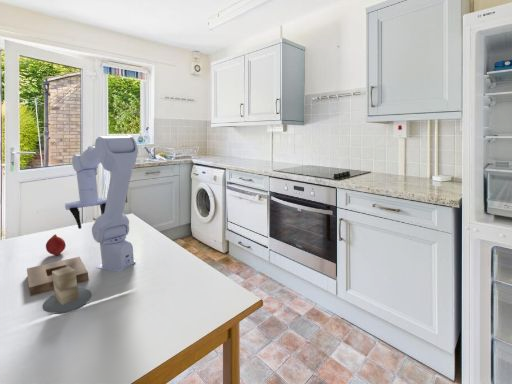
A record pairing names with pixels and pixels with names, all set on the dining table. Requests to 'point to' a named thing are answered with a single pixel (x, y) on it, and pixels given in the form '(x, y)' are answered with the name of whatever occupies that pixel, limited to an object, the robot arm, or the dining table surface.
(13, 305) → the dining table surface
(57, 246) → the red rounded piece
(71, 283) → the peg
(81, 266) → the pocket block
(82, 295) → the coaster
